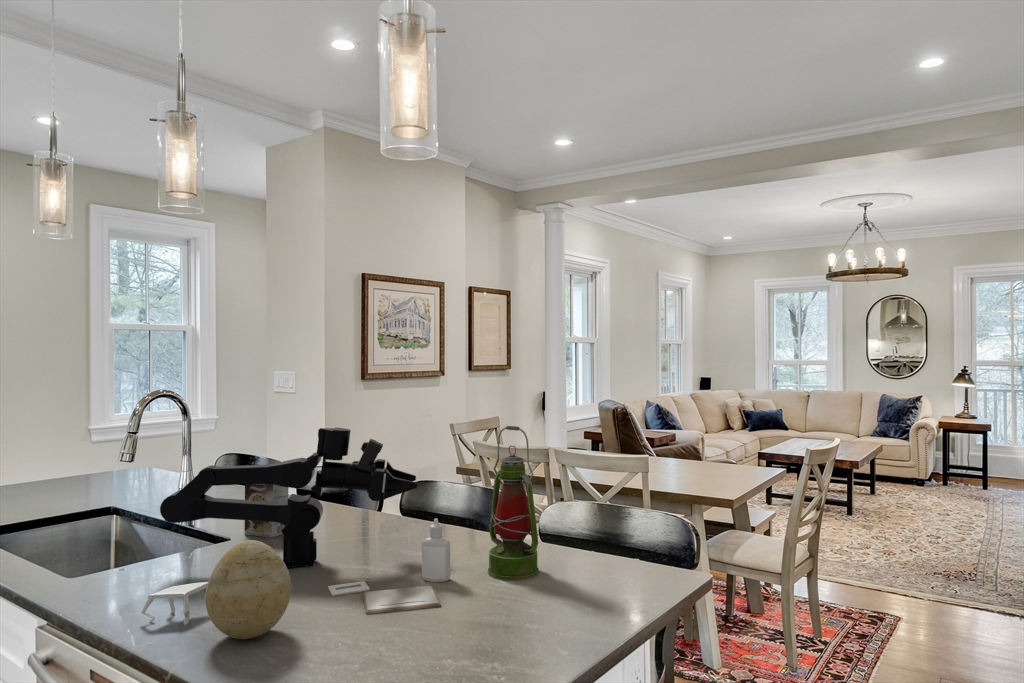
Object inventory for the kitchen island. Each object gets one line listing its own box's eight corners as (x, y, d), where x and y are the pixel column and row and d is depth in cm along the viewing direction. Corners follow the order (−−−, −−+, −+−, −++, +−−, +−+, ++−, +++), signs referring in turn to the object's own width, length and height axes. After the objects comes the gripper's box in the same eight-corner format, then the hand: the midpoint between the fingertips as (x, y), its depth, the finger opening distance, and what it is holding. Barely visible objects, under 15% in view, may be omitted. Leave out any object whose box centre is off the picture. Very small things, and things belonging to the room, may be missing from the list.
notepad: (366, 614, 116) (366, 610, 116) (363, 594, 125) (363, 591, 125) (440, 606, 119) (440, 602, 119) (432, 588, 129) (432, 584, 129)
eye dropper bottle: (435, 585, 131) (435, 523, 131) (418, 578, 135) (418, 518, 135) (453, 580, 134) (453, 519, 134) (436, 573, 138) (436, 514, 138)
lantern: (471, 571, 139) (470, 426, 140) (507, 559, 147) (506, 422, 148) (520, 586, 130) (519, 430, 130) (555, 573, 137) (554, 426, 138)
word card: (332, 596, 125) (332, 594, 125) (327, 587, 129) (327, 586, 129) (370, 590, 128) (369, 588, 128) (364, 582, 132) (364, 580, 132)
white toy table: (168, 633, 108) (168, 603, 108) (139, 623, 113) (139, 593, 113) (233, 610, 118) (233, 581, 119) (204, 601, 123) (204, 574, 123)
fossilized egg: (264, 656, 100) (264, 554, 100) (187, 650, 102) (187, 550, 102) (305, 622, 112) (305, 532, 113) (235, 618, 114) (236, 529, 115)
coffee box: (243, 534, 170) (243, 470, 170) (261, 528, 176) (261, 466, 176) (271, 538, 166) (271, 472, 167) (289, 531, 172) (289, 468, 173)
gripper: (346, 444, 139) (422, 451, 141) (352, 435, 157) (419, 440, 160) (340, 498, 138) (416, 504, 141) (346, 482, 157) (413, 487, 159)
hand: (416, 481), depth 150 cm, fingers open, 9 cm apart
